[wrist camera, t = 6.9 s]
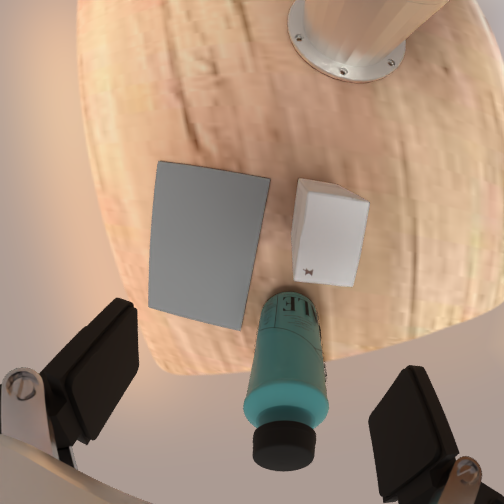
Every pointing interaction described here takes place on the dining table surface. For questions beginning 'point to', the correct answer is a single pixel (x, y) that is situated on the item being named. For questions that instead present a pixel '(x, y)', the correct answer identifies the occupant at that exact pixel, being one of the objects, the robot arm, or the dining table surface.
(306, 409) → the beverage bottle
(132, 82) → the dining table surface
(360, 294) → the dining table surface
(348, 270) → the skincare box
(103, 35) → the dining table surface
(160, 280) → the slate mat
